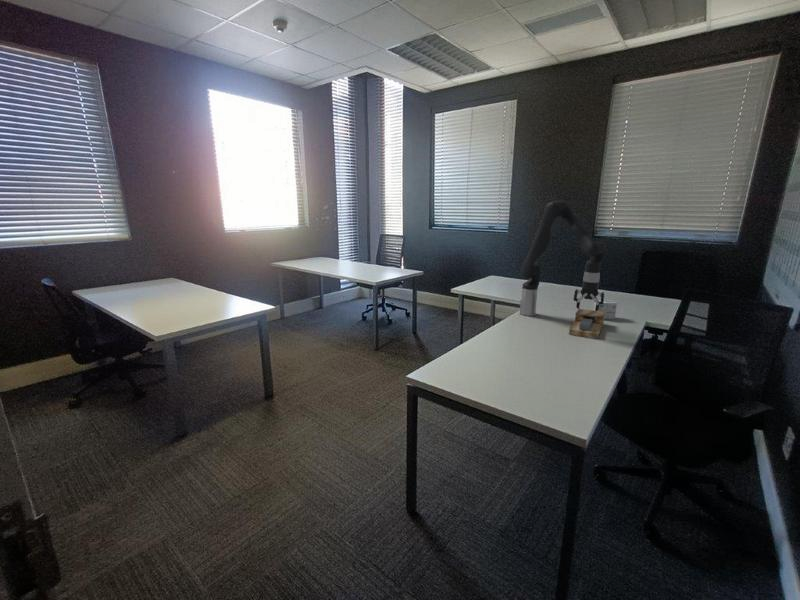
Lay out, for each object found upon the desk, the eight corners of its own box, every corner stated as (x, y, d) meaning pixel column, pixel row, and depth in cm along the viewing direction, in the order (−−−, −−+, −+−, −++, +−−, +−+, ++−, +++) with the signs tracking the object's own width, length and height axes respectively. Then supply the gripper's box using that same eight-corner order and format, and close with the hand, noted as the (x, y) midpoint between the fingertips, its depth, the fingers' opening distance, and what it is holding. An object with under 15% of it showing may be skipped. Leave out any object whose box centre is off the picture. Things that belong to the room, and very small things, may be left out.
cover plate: (579, 329, 198) (579, 324, 197) (582, 322, 209) (583, 317, 208) (589, 331, 195) (590, 325, 194) (592, 324, 206) (593, 318, 206)
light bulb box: (610, 316, 230) (612, 299, 227) (615, 319, 223) (617, 302, 220) (592, 316, 231) (594, 299, 228) (597, 319, 224) (599, 302, 221)
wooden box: (568, 334, 199) (570, 321, 197) (577, 320, 223) (578, 308, 222) (597, 339, 192) (599, 326, 190) (603, 323, 216) (604, 312, 214)
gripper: (575, 280, 192) (571, 309, 196) (605, 283, 184) (601, 313, 189) (577, 277, 198) (573, 306, 202) (607, 280, 190) (602, 310, 195)
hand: (587, 309), depth 195 cm, fingers open, 8 cm apart
